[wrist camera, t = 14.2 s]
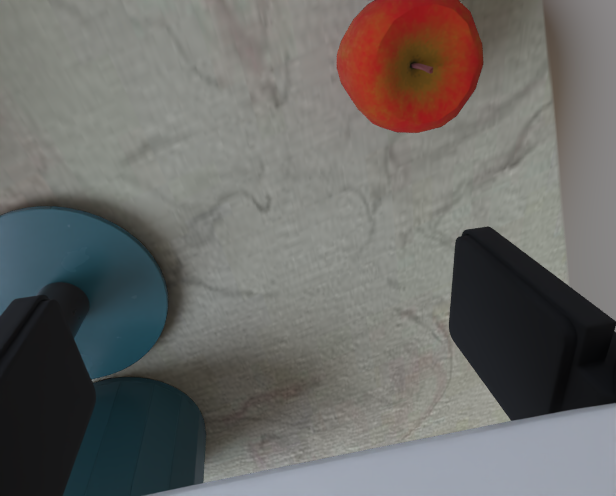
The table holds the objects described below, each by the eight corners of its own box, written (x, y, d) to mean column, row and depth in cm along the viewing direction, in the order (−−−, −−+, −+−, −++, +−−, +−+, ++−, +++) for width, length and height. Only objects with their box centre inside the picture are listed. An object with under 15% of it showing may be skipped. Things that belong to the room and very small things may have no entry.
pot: (-14, 403, 30) (-108, 543, 22) (222, 355, 32) (220, 468, 23) (48, 504, 35) (-9, 649, 27) (250, 457, 37) (256, 582, 28)
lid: (-84, 223, 25) (-182, 279, 19) (138, 185, 26) (111, 228, 20) (10, 386, 30) (-43, 469, 24) (189, 349, 31) (180, 421, 25)
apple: (302, 82, 25) (329, 98, 18) (357, -27, 23) (410, -56, 16) (390, 133, 27) (443, 164, 20) (447, 36, 25) (526, 35, 18)
